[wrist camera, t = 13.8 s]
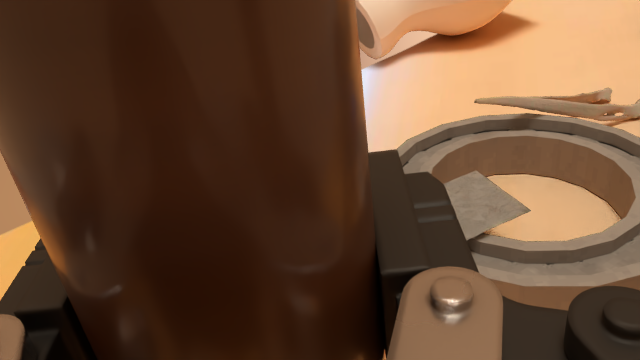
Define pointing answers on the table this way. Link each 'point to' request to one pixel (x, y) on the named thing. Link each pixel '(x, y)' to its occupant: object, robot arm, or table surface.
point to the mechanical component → (553, 161)
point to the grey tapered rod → (571, 105)
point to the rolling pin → (198, 173)
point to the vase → (418, 19)
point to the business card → (481, 204)
